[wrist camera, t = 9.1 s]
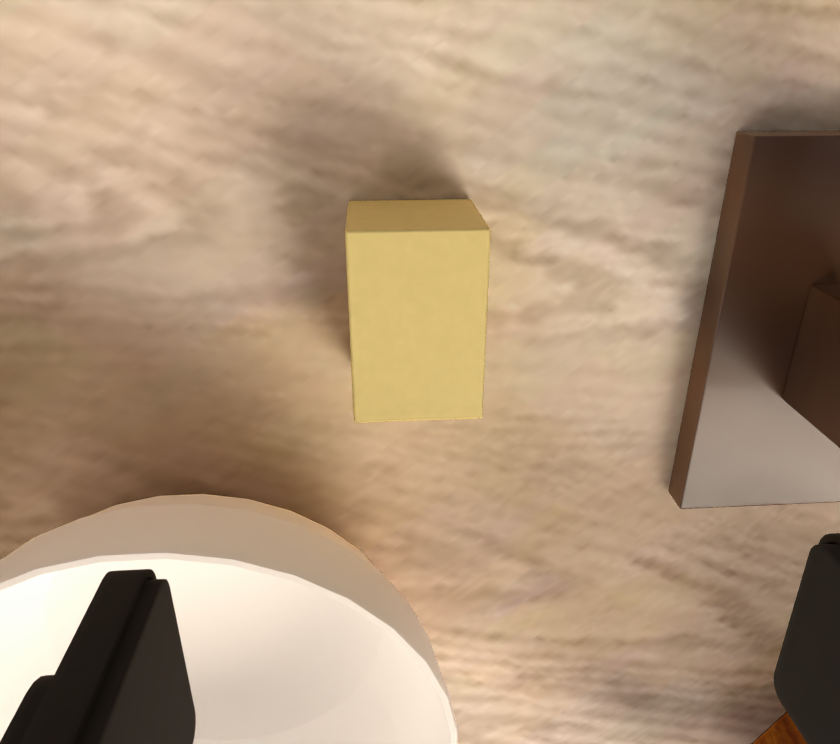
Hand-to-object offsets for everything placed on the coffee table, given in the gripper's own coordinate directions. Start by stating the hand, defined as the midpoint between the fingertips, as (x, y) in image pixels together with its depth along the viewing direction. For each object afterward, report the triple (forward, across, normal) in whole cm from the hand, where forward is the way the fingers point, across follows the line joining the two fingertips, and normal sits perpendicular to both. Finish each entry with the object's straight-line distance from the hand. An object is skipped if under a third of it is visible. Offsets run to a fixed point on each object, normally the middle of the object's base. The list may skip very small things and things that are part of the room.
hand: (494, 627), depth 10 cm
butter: (+15, 0, 0) cm, 15 cm away
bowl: (+16, +8, +14) cm, 22 cm away
